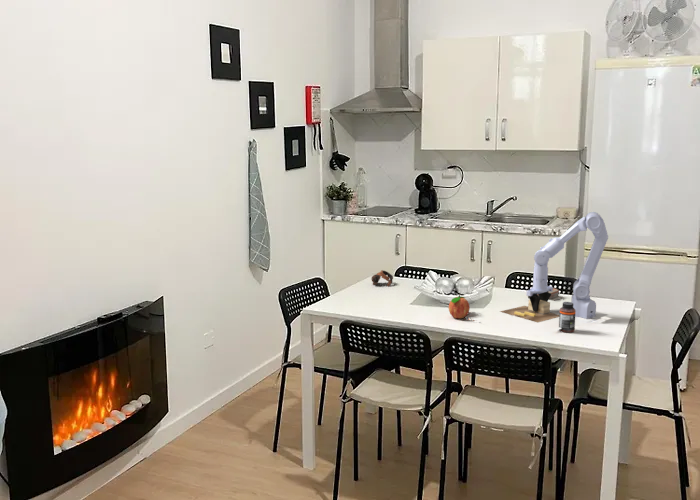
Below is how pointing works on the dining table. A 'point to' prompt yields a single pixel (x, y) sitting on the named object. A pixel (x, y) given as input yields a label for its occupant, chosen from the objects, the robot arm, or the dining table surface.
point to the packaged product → (554, 295)
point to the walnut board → (532, 318)
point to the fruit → (459, 307)
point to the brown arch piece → (383, 273)
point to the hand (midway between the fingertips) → (538, 310)
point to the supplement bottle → (567, 318)
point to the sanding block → (540, 307)
